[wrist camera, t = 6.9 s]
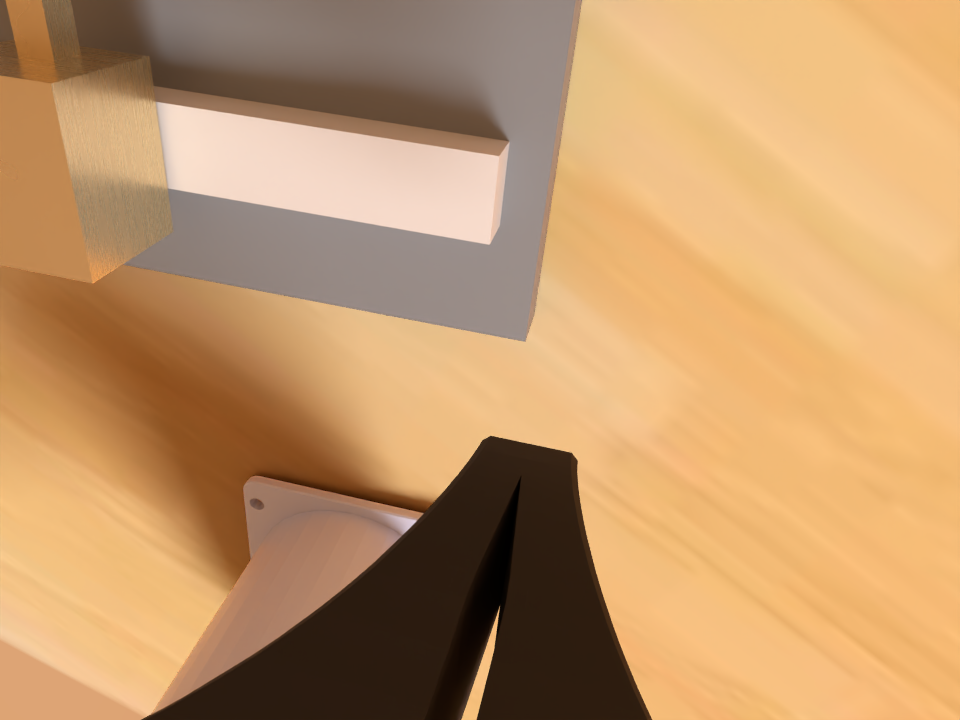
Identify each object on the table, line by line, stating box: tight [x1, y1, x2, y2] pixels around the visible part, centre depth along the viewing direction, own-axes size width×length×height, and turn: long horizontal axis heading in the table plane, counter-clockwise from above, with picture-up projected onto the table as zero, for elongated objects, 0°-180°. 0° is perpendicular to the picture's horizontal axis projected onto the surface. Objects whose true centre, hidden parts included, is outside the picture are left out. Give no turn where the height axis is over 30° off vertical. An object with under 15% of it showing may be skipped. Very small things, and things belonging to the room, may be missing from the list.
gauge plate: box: [0, 0, 582, 342], centre depth 16 cm, size 12×22×6 cm, turn 85°
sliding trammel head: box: [0, 0, 174, 284], centre depth 15 cm, size 8×3×4 cm, turn 175°
